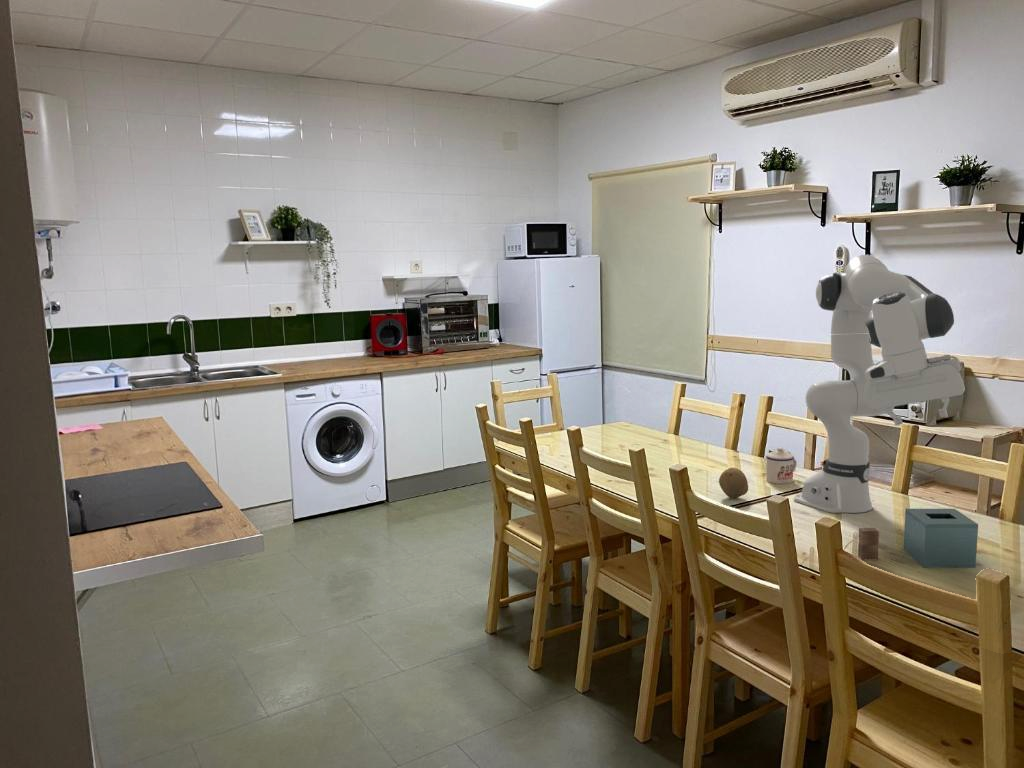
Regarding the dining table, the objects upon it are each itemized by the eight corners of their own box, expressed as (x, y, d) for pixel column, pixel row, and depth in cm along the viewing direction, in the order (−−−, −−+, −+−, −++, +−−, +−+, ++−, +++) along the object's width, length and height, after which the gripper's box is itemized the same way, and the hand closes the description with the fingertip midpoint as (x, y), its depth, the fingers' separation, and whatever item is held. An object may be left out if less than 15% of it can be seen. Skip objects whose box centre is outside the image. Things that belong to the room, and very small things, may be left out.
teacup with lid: (779, 486, 257) (780, 452, 255) (759, 479, 265) (760, 447, 263) (805, 480, 262) (806, 447, 260) (785, 474, 270) (786, 442, 268)
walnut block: (861, 559, 192) (862, 531, 191) (857, 556, 194) (859, 527, 193) (877, 559, 191) (879, 531, 190) (874, 556, 194) (875, 527, 193)
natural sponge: (717, 493, 250) (717, 464, 249) (745, 494, 249) (746, 464, 247) (720, 501, 242) (720, 471, 240) (749, 502, 240) (749, 471, 239)
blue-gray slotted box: (923, 567, 186) (925, 524, 184) (903, 549, 198) (905, 508, 196) (975, 567, 184) (978, 524, 183) (952, 549, 196) (954, 508, 195)
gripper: (957, 350, 171) (973, 409, 172) (861, 370, 183) (876, 425, 183) (956, 355, 166) (972, 415, 167) (857, 374, 177) (872, 431, 178)
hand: (921, 420), depth 175 cm, fingers open, 8 cm apart
